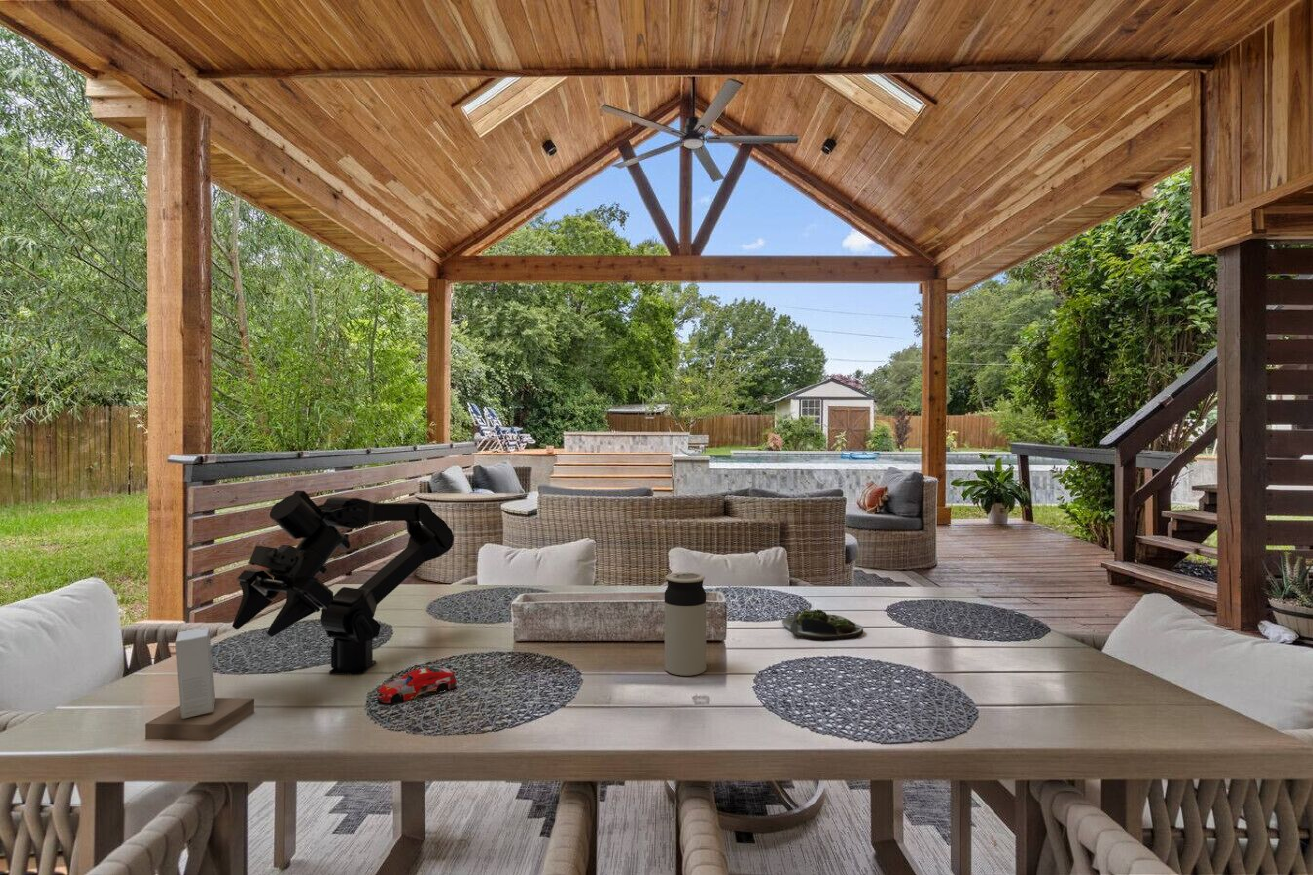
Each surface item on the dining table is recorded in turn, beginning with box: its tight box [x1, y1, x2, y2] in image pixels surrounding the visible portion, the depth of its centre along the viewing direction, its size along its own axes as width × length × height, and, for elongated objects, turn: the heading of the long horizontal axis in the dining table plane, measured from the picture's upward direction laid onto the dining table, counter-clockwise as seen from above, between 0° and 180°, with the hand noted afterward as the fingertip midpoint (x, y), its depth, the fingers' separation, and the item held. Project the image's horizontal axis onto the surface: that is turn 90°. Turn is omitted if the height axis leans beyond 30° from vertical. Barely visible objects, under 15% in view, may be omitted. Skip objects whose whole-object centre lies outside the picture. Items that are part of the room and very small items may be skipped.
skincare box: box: [174, 626, 216, 719], centre depth 104 cm, size 6×4×12 cm
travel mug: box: [664, 571, 707, 677], centre depth 128 cm, size 8×8×18 cm
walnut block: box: [144, 697, 255, 741], centre depth 104 cm, size 10×10×3 cm
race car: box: [376, 667, 457, 705], centre depth 117 cm, size 13×5×4 cm, turn 127°
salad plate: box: [781, 608, 864, 642], centre depth 156 cm, size 19×18×5 cm
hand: (251, 631), depth 111 cm, fingers open, 9 cm apart
